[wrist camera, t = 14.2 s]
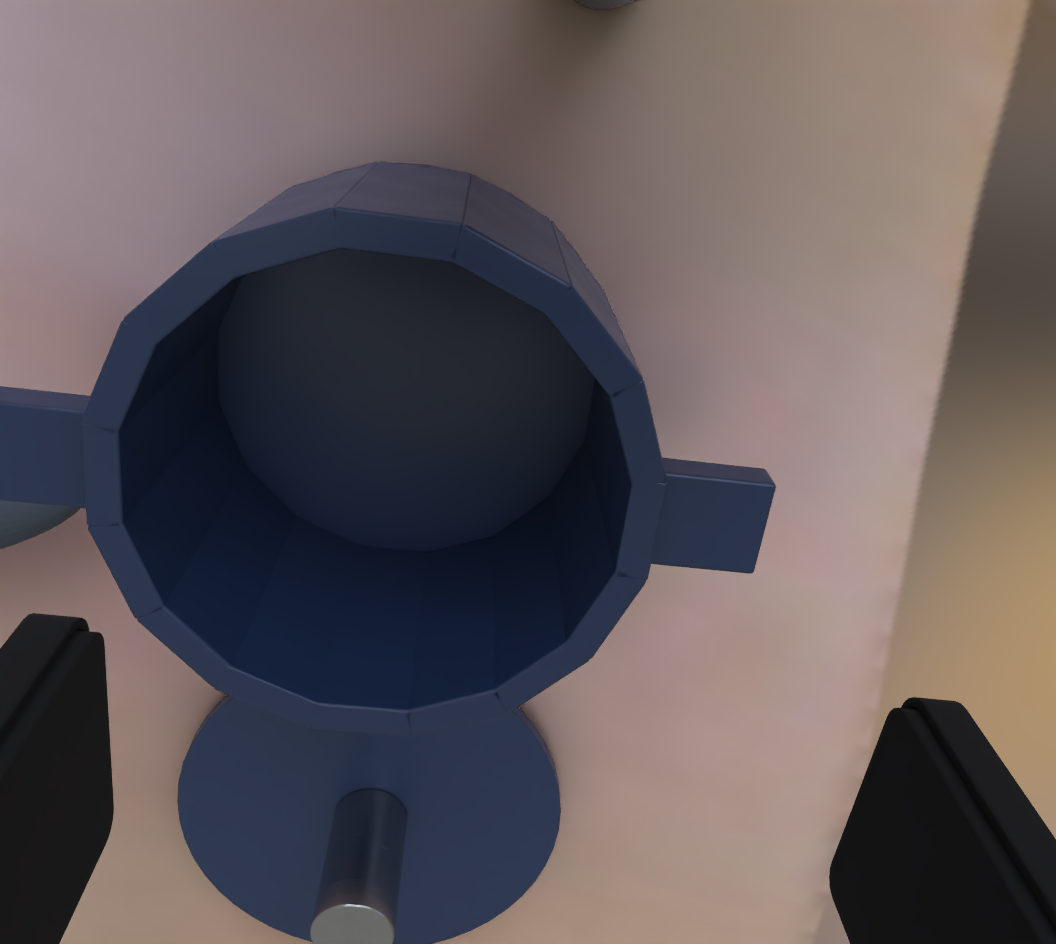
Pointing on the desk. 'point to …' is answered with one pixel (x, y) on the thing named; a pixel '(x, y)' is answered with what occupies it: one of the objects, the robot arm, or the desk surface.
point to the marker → (604, 3)
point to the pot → (379, 458)
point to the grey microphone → (29, 520)
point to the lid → (368, 823)
